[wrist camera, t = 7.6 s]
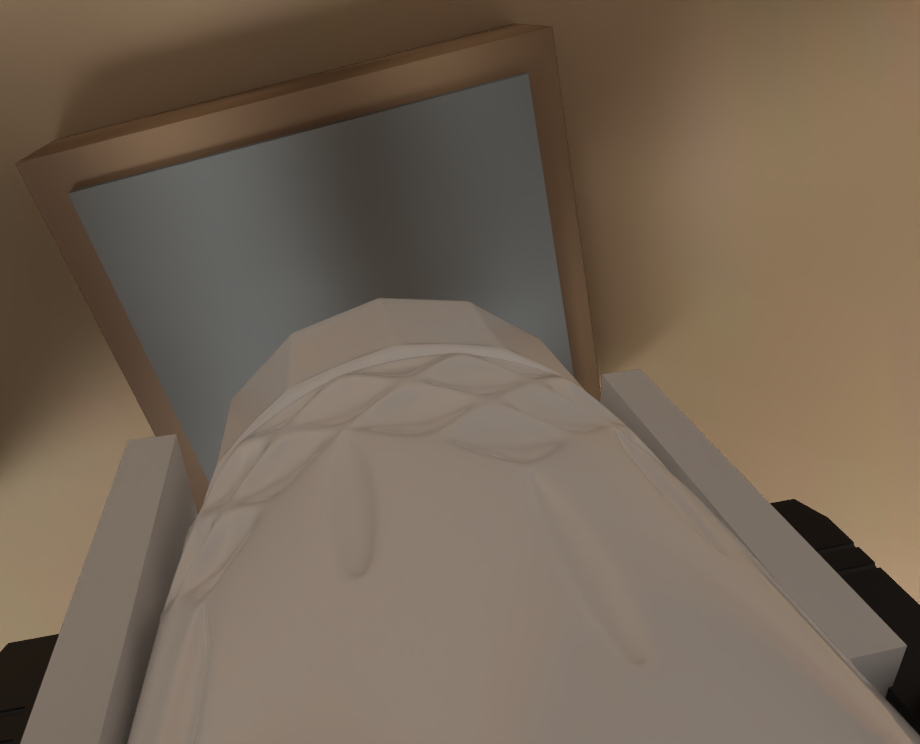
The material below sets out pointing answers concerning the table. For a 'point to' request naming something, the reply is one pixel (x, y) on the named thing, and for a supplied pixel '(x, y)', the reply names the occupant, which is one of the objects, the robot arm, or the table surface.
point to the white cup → (471, 566)
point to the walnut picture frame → (321, 218)
